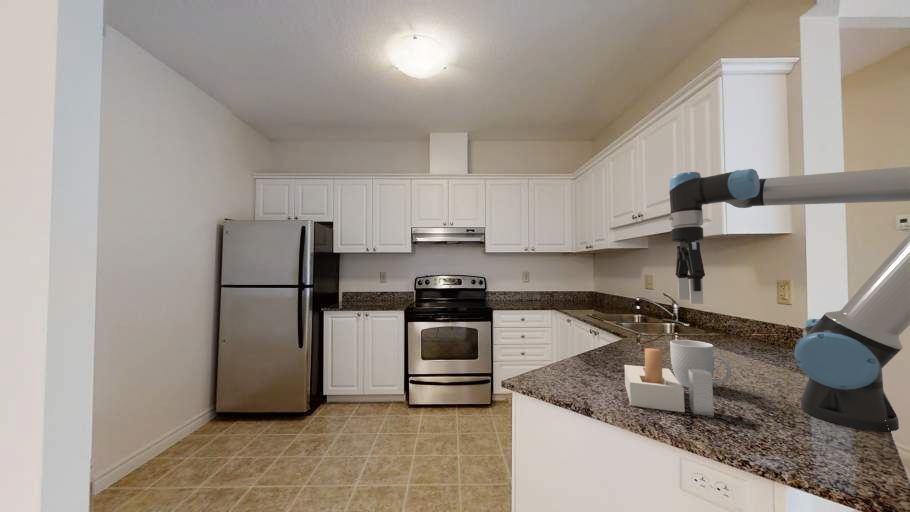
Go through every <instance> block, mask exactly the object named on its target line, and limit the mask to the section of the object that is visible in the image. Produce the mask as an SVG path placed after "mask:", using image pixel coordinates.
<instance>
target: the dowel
mask: <svg viewBox="0 0 910 512" xmlns="http://www.w3.org/2000/svg"><path fill="white" fill-rule="evenodd" d="M644 367H645V382H647V383H656V384H662V368H663V351H662V350H661V349H658V348H652V347H647V348H644Z"/></svg>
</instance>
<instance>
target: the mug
mask: <svg viewBox="0 0 910 512" xmlns="http://www.w3.org/2000/svg"><path fill="white" fill-rule="evenodd" d="M669 344H670V347H669V348H670V349H669V350H670V353H669V354H670V363H671V368H672V370H673V371H672V373H673V375H674V376H675V377H676V379H677V380H678V381H679V383H680V384H681V385H682V387H683V388H688V389H689V374H688V369H698V370H707V371H708V372H709V373H711V374H712V385H713V384H715V385H716V384H725V383H726V382H728V381H729V380H730V378H731V376H732V368H731V365H730V363H729V361H728V360H727V359H726V358H725V357H723V356H721V355H718V354H715V351H714V350H715V349H714V345H713V344H712V343H708V342H704V341H700V340H699V341H698V340H689V339H688V340H687V339H673V340H670V341H669ZM715 360H720V361H722V363H723V364H724V365H725V367H726V374H725V375H726V376H724V377H723V378H722V379H718V380H716V379H713V376H714V373H715V372H714V371H715Z"/></svg>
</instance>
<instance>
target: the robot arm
mask: <svg viewBox="0 0 910 512" xmlns="http://www.w3.org/2000/svg"><path fill="white" fill-rule="evenodd" d="M668 193H669V205H670V216H669V217H668V221H670V223H671V224H670V225H671V227H672V228H671V232H670V233H671V241H672V242H674V243H680V244H679V245H677V246H676V251H677V252H676V264H675V265H676V266H675V276H676V277H677V292H678V294H677V295H678V300H680V301H681V300H685V301H689V303H690V305H691V304H692V305H693V304H696V305H697V304H698V305H704V291H703V278H704V277H705V275H706V273H705V268H704V264H703V258H702V253H701V243H700V242H701V241H703V240H704V227H702V225H704V220H703V219H704V215H703V208H702V207H703V205H710V204H718V203H726V204H728V205H731V206H733V207H736V208H741V209H747V208H752V207H761V206H762V207H764V206H765V207H766V206H793V205H794V206H795V205H798V206H799V205H822V204H823V205H827V204H828V205H829V204H856V203H857V204H863V203H864V204H865V203H891V202H895V203H896V202H910V166H902V167H901V166H900V167H889V168H876V169H863V170H851V171H850V170H849V171H838V172H827V173H814V174H803V175H793V176H792V175H790V176H789V175H788V176H778V177H767V178H760V177H759V174H758V172H757V170H755V169H754V168H747V169H737V170H734V171H731V172H724V173H720V174H715V175H710V176H705V177H702V176H701V173H700V172H699V171H698V172H697V171H688V172H682V173H677V174H675V175H672V177H671V178H670V179H669V190H668ZM909 326H910V232H909V233H908V234H907V236H905V238H904V239H903V240H902V241H901V242H900V243H899V245H898V246H897V247H896V248H895V249H894V250H893V251H892V252H891V253H890V255H888V257H887V258H886V259H885V260H884V261H883V262H882V264H881V265H879V267H878V268H877V269H876V270H875V272H874V273H873V274H872V275H871V276H870V277H869V278H868V279H867V280H866V282H865V283H864V284H862V286H861V287H860V288H859V289H858V291H856V293H855V294H854V295H853V296H852V297H851V298H850V300H849V301H847V303H846V304H845V305H844V306H843V307H842V308H841V309H840V310H837V311H836V310H835V311H829V312H825V313H824V315H823V316H822V317H820V318H809V319H807V320H806V321H805V327H804V330H805V332H806V333H805V335H804V336H803V337H801V338H799V339H798V340H797V342H796V344H795V345H794V350H793V351H794V359H795V362H796V364H797V366H798V367H799V369H800V370H801V371H802V372H803V373H804V375H806V376H807V377H808V381H807V383H806V385H805V387H804V391H803V393H802V394H801V398H800V408H801V410H802V411H803V412H805V413H806V414H809V415H811V416H813V417H815V418H818V419H820V420H823V421H827V422H828V423H829V422H830V423H832V424H833V423H834V424H838V425H841V426H845V427H850V428H855V429H859V430H860V429H861V430H868V431H876V432H895V431H898V430H899V429H900V424H899V418H898V416H897V414H896V412H895V410H894V407H893V406H892V404H891V402H890V401H889V399H888V396H887V395H886V393H885V390H884V382H883V381H884V380H883V378H884V377H883V368H884V367H885V366H886V365H887V364H888V363H889V362H891V360H892V359H893V358H894V357H896V355H898V353H900V351H901V350H903V349H904V348H903V344H902V343H901V340H900V335H902V334H903V333H904V332H905V331H906V329H908V327H909ZM885 420H886V421H885ZM887 425H888V426H887ZM888 428H889V430H890V431H889V430H888Z"/></svg>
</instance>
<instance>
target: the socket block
mask: <svg viewBox="0 0 910 512" xmlns="http://www.w3.org/2000/svg"><path fill="white" fill-rule="evenodd" d="M624 385H625V389H626V393H627V396H628V400H629V405H630V406H632V407H641V408H646V409H647V408H648V409H653V410H654V409H656V410H663V411H670V412H671V411H672V412H679V413H685V389H684V388H685V387H684V386H682V385H681V384H680V383H679V381H678V380H677V379H676V377H675V374H674V372H673V371H671V369H670V368H666V367H665V368H664V367H662V384H656V383H647V382H645V366H642V365H630V364H624Z"/></svg>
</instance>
